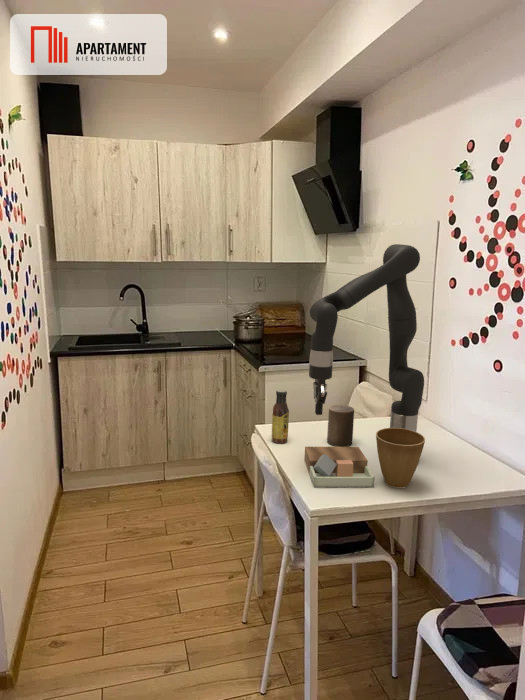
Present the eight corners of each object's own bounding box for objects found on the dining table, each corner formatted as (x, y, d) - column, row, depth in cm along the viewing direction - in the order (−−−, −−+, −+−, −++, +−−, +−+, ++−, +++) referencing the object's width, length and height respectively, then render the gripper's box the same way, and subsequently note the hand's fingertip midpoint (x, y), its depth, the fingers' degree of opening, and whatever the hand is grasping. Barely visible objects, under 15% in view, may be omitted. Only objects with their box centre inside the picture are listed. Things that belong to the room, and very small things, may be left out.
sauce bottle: (286, 444, 193) (288, 393, 189) (270, 443, 194) (271, 392, 191) (288, 438, 200) (291, 389, 196) (273, 437, 201) (274, 388, 197)
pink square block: (351, 460, 167) (353, 463, 164) (350, 474, 168) (352, 478, 165) (336, 460, 167) (338, 463, 164) (335, 474, 167) (337, 478, 165)
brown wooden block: (357, 460, 181) (358, 446, 180) (366, 475, 169) (367, 460, 168) (304, 460, 180) (304, 446, 179) (309, 474, 168) (310, 460, 167)
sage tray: (366, 475, 169) (367, 465, 169) (374, 487, 160) (374, 477, 160) (309, 474, 168) (309, 465, 167) (313, 487, 159) (314, 477, 159)
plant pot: (368, 472, 171) (372, 426, 168) (413, 474, 171) (417, 428, 168) (377, 493, 157) (381, 443, 154) (426, 495, 156) (431, 445, 153)
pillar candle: (354, 447, 193) (356, 409, 190) (327, 446, 193) (330, 408, 190) (350, 438, 202) (352, 401, 199) (325, 437, 202) (327, 400, 200)
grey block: (331, 466, 168) (336, 464, 165) (324, 477, 165) (329, 476, 162) (320, 456, 167) (325, 453, 165) (313, 467, 164) (317, 465, 162)
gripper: (336, 368, 161) (333, 420, 164) (328, 359, 174) (326, 408, 177) (312, 367, 160) (310, 420, 164) (306, 358, 173) (304, 408, 177)
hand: (318, 414), depth 171 cm, fingers closed
